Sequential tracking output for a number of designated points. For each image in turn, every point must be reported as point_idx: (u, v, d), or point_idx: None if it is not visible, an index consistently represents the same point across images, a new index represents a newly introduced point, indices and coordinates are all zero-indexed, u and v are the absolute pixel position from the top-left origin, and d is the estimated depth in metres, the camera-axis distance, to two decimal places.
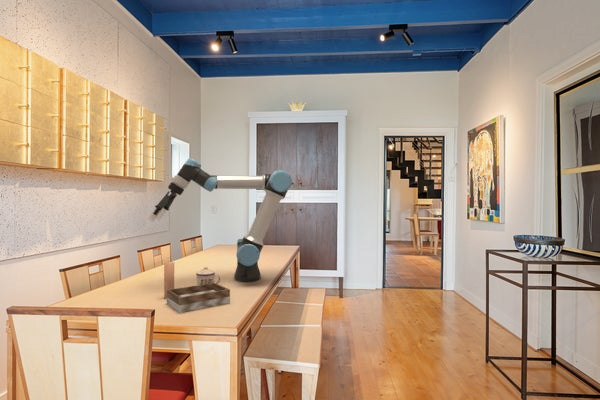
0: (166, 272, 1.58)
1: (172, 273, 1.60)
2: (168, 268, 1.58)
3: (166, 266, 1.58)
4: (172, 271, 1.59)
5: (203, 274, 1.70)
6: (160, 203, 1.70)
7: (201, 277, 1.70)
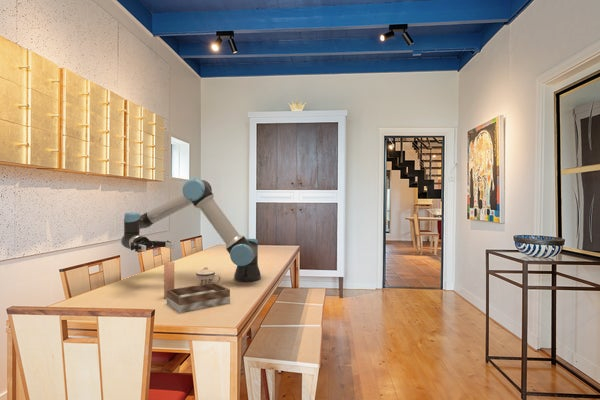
0: (166, 272, 1.58)
1: (172, 273, 1.60)
2: (168, 268, 1.58)
3: (166, 266, 1.58)
4: (172, 271, 1.59)
5: (203, 274, 1.70)
6: None
7: (201, 277, 1.70)
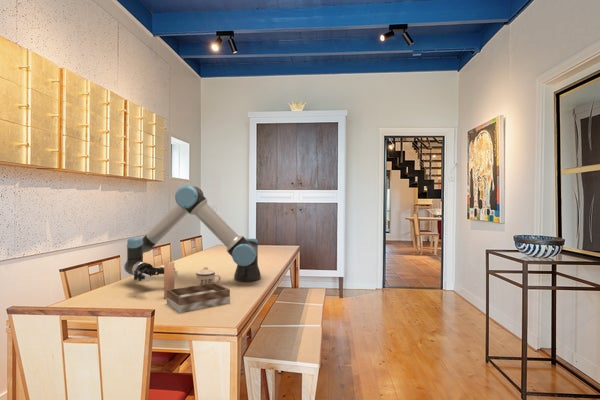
0: (166, 272, 1.58)
1: (172, 273, 1.60)
2: (168, 268, 1.58)
3: (166, 266, 1.59)
4: (172, 271, 1.59)
5: (203, 274, 1.70)
6: None
7: (201, 277, 1.70)
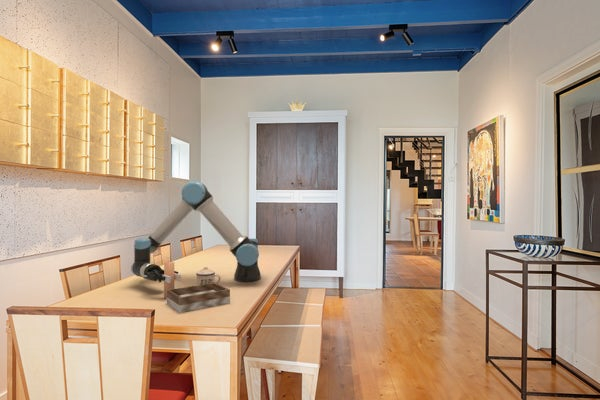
0: (166, 272, 1.58)
1: (172, 273, 1.60)
2: (168, 268, 1.58)
3: (166, 266, 1.58)
4: (172, 271, 1.59)
5: (203, 274, 1.70)
6: (152, 278, 1.59)
7: (201, 277, 1.70)
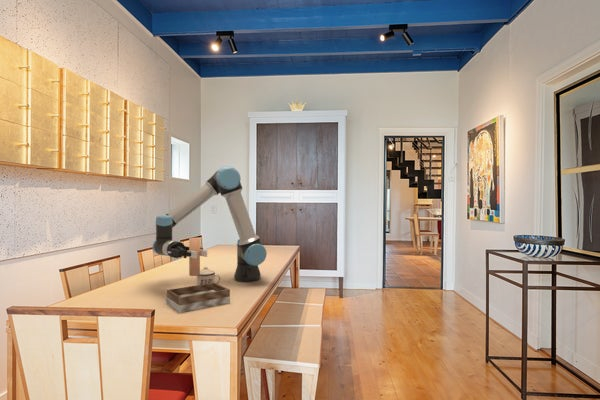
0: (191, 247, 1.50)
1: (198, 249, 1.51)
2: (194, 243, 1.50)
3: (191, 241, 1.50)
4: (197, 246, 1.51)
5: (203, 274, 1.70)
6: (177, 254, 1.51)
7: (201, 277, 1.70)
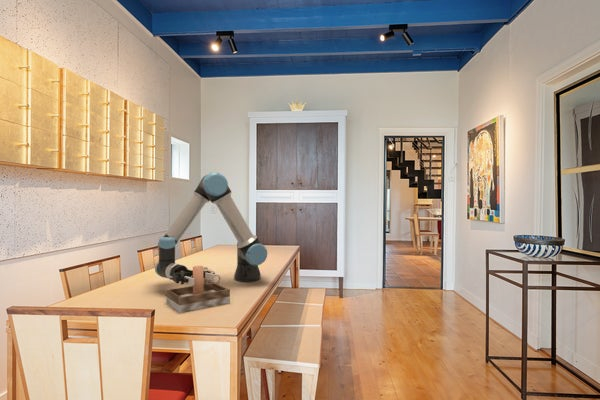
0: (195, 276, 1.49)
1: (201, 277, 1.51)
2: (197, 272, 1.49)
3: (195, 270, 1.49)
4: (201, 275, 1.50)
5: None
6: (175, 280, 1.49)
7: None
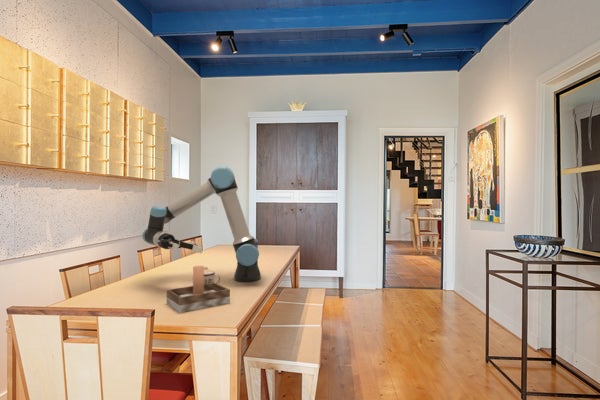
0: (195, 276, 1.50)
1: (202, 277, 1.51)
2: (198, 272, 1.50)
3: (195, 270, 1.50)
4: (201, 275, 1.51)
5: None
6: (160, 243, 1.59)
7: None
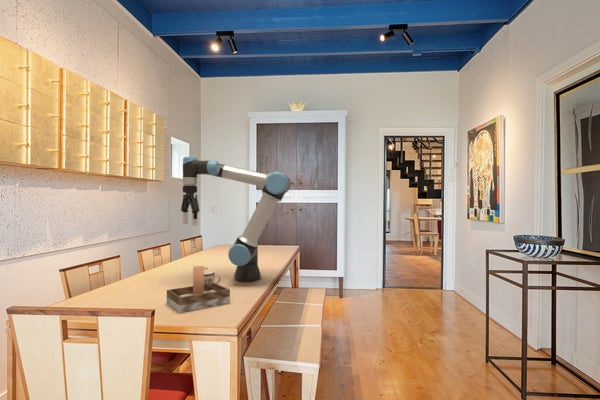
0: (195, 276, 1.50)
1: (202, 277, 1.51)
2: (197, 272, 1.50)
3: (195, 270, 1.50)
4: (201, 275, 1.50)
5: None
6: (195, 207, 1.81)
7: None
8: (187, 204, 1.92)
